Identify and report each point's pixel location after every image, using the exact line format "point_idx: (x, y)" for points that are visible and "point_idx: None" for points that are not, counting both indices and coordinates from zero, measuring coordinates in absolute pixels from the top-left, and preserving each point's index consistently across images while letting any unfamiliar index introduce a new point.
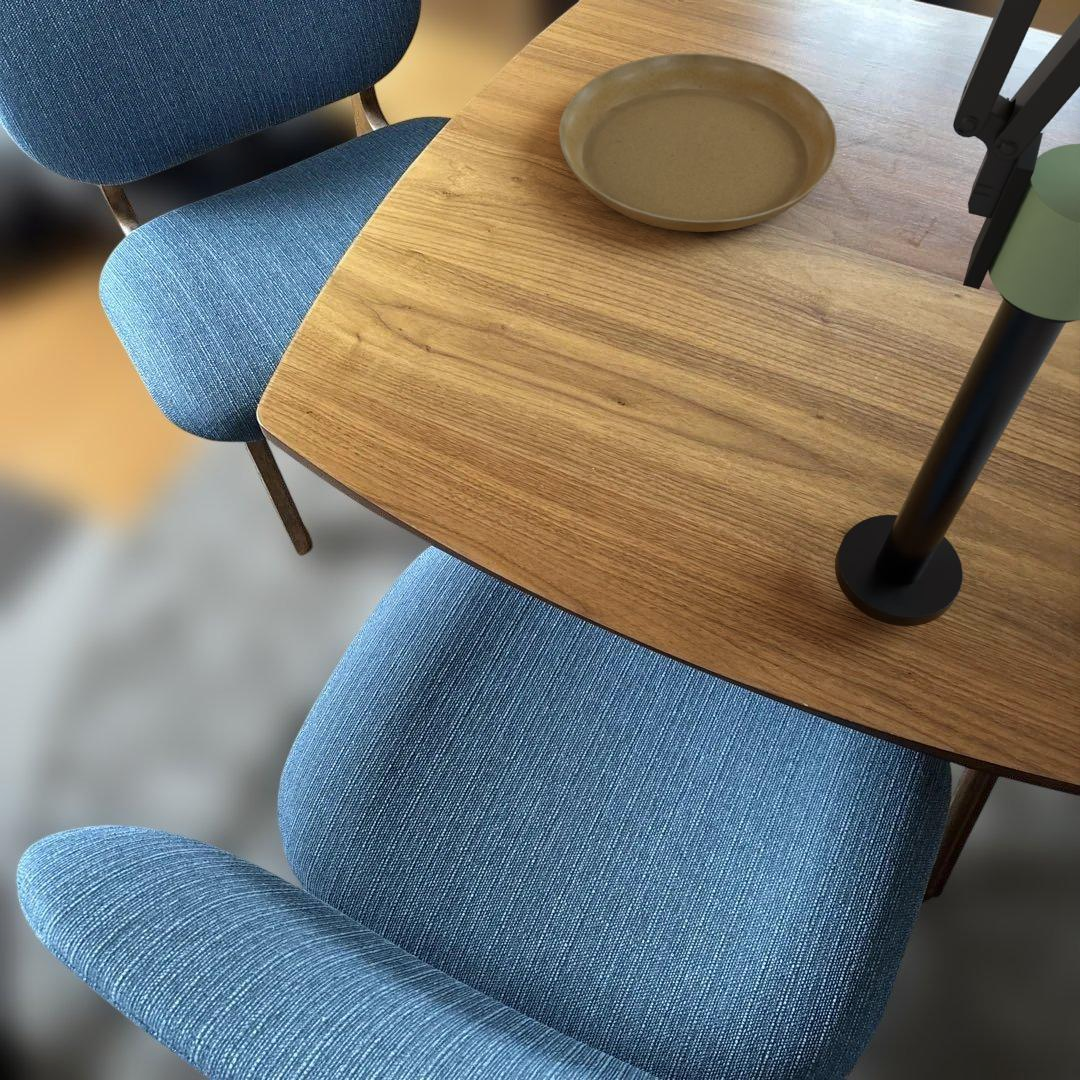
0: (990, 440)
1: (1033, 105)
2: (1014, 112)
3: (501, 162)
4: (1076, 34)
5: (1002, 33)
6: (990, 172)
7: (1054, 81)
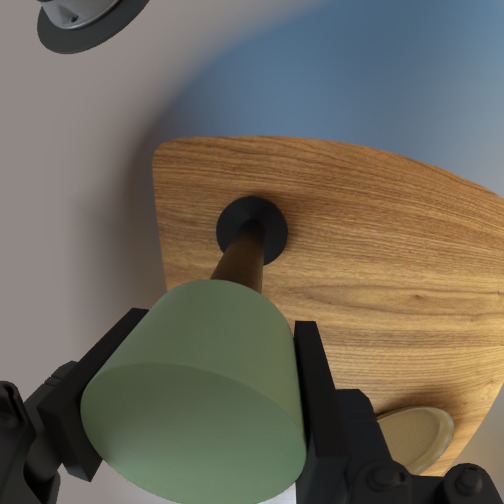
0: (226, 253)
1: None
2: None
3: (470, 408)
4: None
5: None
6: (369, 441)
7: None
